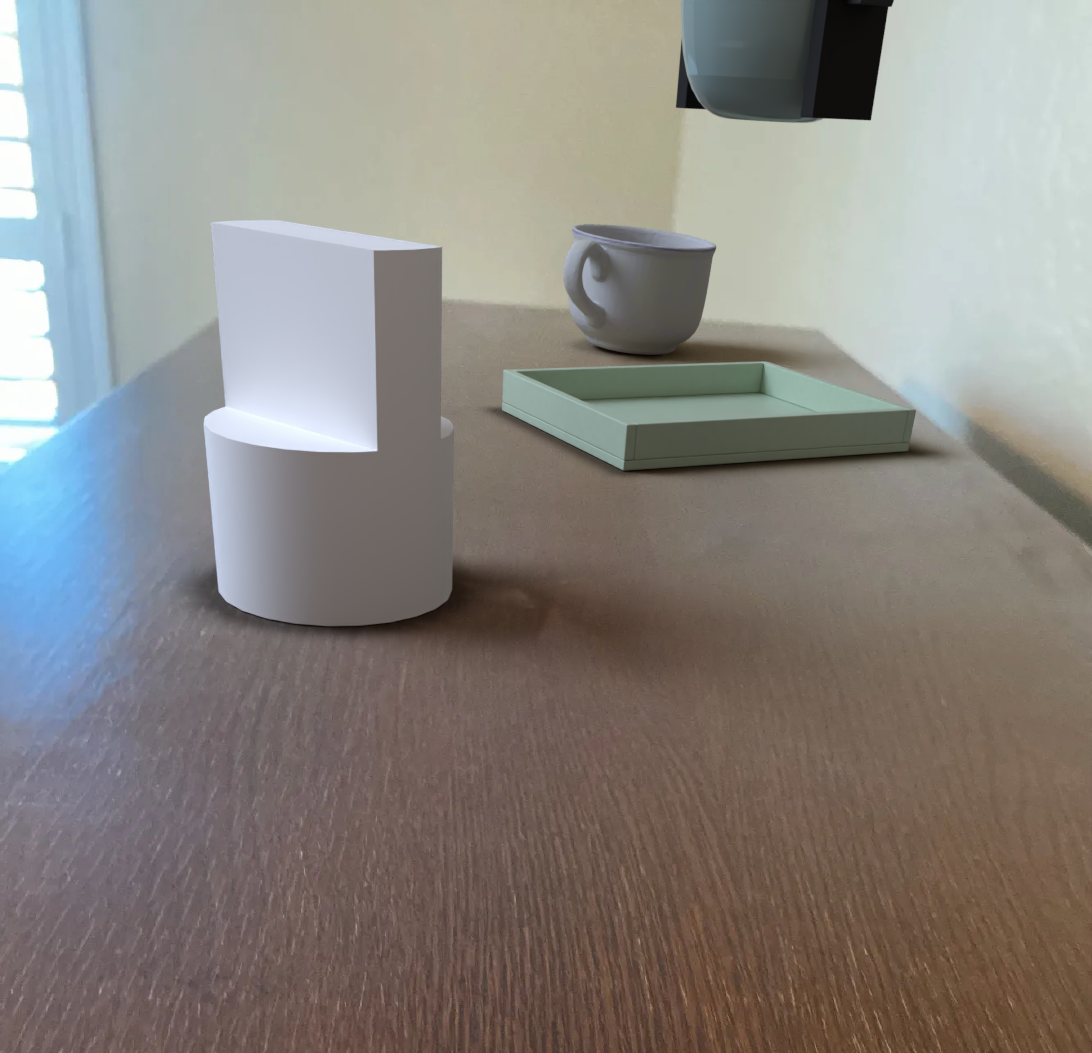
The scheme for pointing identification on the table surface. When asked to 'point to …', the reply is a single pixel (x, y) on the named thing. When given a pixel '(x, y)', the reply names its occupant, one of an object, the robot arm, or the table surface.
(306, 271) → the cylinder with rectangular tab
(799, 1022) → the table surface
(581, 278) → the teacup
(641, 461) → the tray
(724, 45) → the cup
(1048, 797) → the table surface
